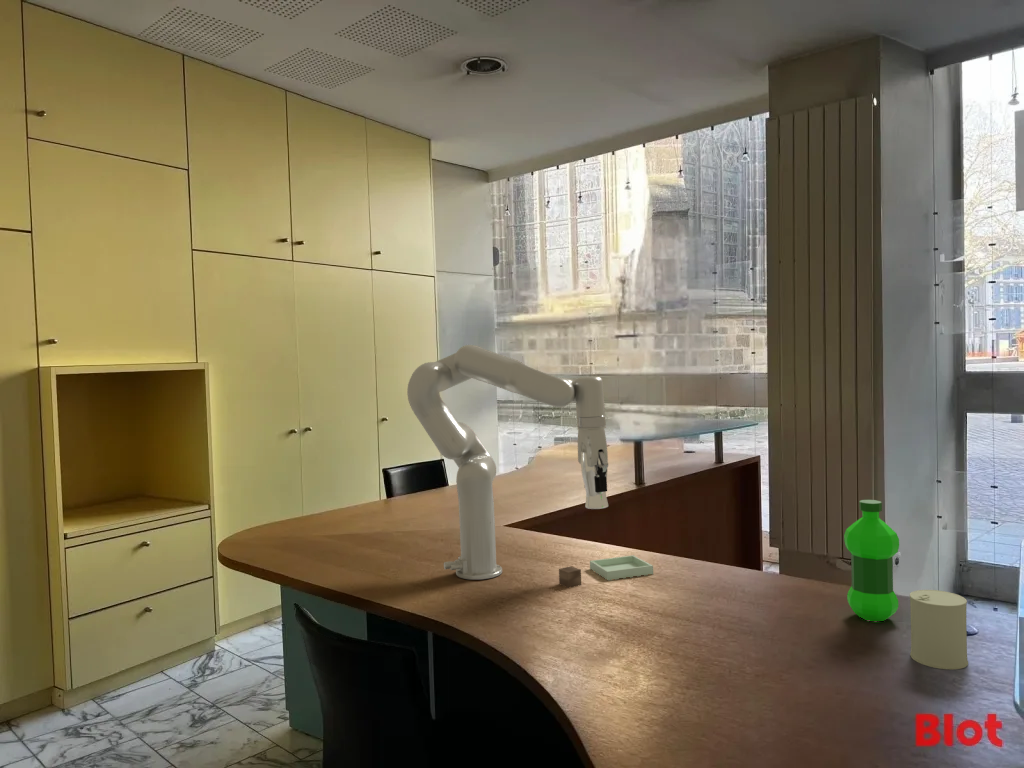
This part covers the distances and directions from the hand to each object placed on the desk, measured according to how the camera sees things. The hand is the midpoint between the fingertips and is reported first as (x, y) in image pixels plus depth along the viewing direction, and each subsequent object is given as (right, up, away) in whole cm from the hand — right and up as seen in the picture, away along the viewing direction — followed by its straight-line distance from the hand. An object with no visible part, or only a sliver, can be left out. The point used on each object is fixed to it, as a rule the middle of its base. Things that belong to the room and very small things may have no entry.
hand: (595, 489), depth 196 cm
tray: (+7, -22, +1) cm, 23 cm away
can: (+56, -23, -61) cm, 86 cm away
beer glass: (0, -5, 0) cm, 5 cm away
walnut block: (-7, -23, -8) cm, 26 cm away
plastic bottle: (+55, -22, -39) cm, 71 cm away
